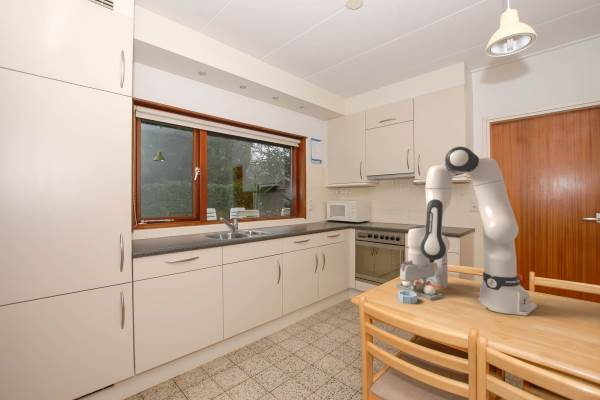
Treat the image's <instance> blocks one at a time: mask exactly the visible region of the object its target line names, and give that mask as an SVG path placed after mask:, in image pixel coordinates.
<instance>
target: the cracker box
mask: <svg viewBox="0 0 600 400" xmlns="http://www.w3.org/2000/svg"><path fill="white" fill-rule="evenodd" d="M434 264H435V275H434V277H429V278H427V281H426V283H425V286H427V285H431V286H433V287H434V288H436V289H440V290H445V289H446V288H448V251H447V252H446V253H445V255H444V256H443V257H442V258H441V259H438V260H435V262H434ZM416 281H418V282H422V279H419V280H416Z"/></svg>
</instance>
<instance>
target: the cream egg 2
mask: <svg viewBox="0 0 600 400" xmlns="http://www.w3.org/2000/svg"><path fill="white" fill-rule="evenodd" d="M435 292H436V289H435V287H433V286H431V285H425V287H424V293H425V294H426V295H429V296H433V295H434V294H435Z"/></svg>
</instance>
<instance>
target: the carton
mask: <svg viewBox="0 0 600 400" xmlns="http://www.w3.org/2000/svg"><path fill="white" fill-rule="evenodd" d="M395 288H397V289H400V290H401V291H402V290H405V291H412V292H415V293H417V297H418V296H419V297H420V298H423V299H426V300H428V301H434V300H438V299H442V298H444V294H443V293H440V292H438V291H435V294H434V295H433V296H429V295H426V294H425V293H424V288H423V291H420V292H418V291H415V290H414V289H411V287H409V288H407V287H404V286H403V284H402V282H401V283H395Z"/></svg>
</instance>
